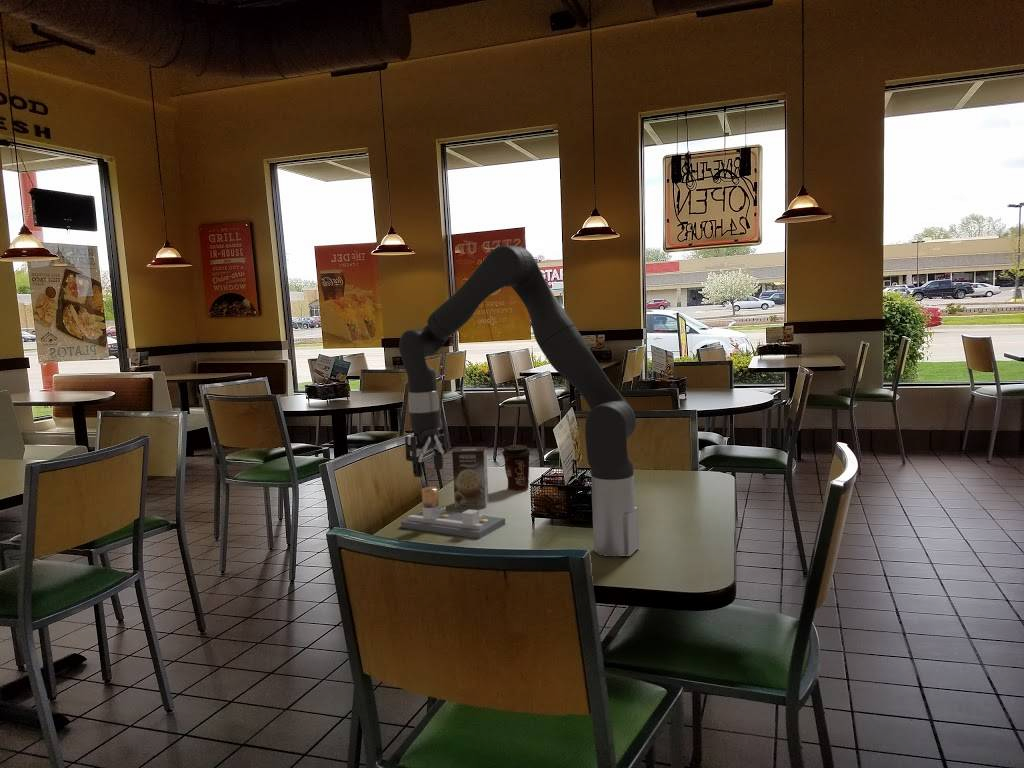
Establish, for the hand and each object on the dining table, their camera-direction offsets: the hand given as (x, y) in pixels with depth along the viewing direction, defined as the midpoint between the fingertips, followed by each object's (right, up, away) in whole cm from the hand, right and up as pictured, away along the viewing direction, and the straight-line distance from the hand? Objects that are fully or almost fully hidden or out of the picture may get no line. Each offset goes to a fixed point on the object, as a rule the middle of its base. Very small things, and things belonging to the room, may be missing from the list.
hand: (428, 472), depth 183 cm
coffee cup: (+23, -10, +35) cm, 43 cm away
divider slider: (+1, -12, +3) cm, 12 cm away
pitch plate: (+6, -14, +3) cm, 15 cm away
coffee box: (+10, -12, +21) cm, 26 cm away
